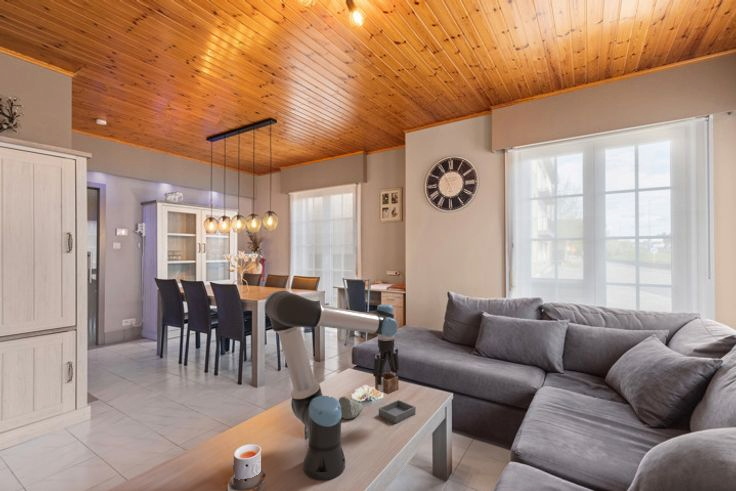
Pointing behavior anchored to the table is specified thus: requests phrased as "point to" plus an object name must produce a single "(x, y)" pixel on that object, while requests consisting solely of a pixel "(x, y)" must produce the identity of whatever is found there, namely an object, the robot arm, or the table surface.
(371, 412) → the table surface
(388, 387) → the walnut crate
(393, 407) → the tray
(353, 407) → the decorative stone
